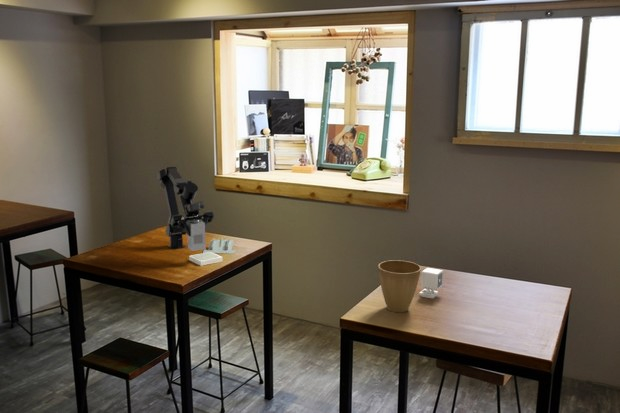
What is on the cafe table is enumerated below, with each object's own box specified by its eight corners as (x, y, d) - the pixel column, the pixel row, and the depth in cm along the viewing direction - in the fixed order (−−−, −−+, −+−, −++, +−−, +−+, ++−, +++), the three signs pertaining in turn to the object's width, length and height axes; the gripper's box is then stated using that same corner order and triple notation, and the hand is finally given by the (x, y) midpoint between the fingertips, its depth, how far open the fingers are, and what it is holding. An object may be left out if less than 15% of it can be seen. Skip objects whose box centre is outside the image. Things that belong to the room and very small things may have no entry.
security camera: (436, 299, 229) (437, 274, 227) (418, 296, 233) (419, 271, 231) (442, 294, 234) (443, 269, 232) (424, 291, 238) (425, 266, 236)
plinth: (189, 260, 278) (189, 255, 278) (210, 255, 285) (210, 251, 284) (201, 265, 270) (200, 261, 269) (222, 261, 276) (222, 256, 276)
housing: (187, 248, 273) (186, 219, 270) (201, 246, 276) (201, 218, 273) (191, 251, 269) (190, 222, 266) (205, 249, 272) (205, 220, 269)
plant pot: (370, 311, 217) (371, 268, 214) (387, 298, 230) (389, 257, 226) (409, 320, 210) (411, 275, 206) (425, 306, 222) (427, 264, 219)
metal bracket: (206, 235, 299) (237, 235, 299) (207, 245, 302) (238, 245, 302) (202, 251, 287) (234, 251, 287) (203, 261, 289) (234, 262, 289)
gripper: (171, 197, 266) (180, 227, 259) (212, 193, 275) (221, 222, 268) (166, 211, 275) (175, 241, 268) (206, 207, 284) (215, 235, 277)
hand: (197, 234), depth 270 cm, fingers closed on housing, 6 cm apart
